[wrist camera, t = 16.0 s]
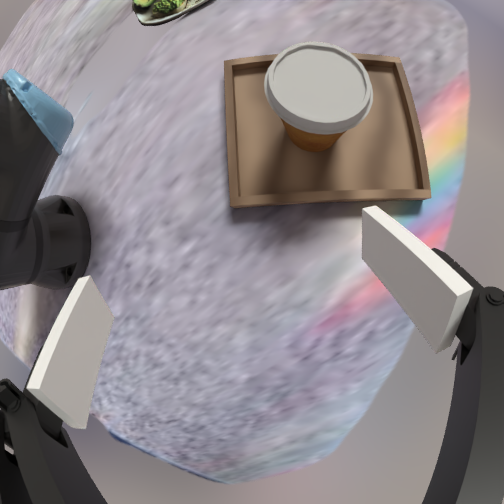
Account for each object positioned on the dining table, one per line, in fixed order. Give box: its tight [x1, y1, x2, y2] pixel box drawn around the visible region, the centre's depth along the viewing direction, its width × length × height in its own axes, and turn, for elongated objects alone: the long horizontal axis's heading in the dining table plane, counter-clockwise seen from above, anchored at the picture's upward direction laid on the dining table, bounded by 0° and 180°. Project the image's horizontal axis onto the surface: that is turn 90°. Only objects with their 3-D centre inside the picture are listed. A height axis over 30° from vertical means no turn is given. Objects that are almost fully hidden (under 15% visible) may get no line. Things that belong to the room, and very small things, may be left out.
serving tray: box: [224, 53, 431, 208], centre depth 30 cm, size 24×20×2 cm
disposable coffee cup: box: [264, 42, 373, 152], centre depth 25 cm, size 10×10×12 cm
